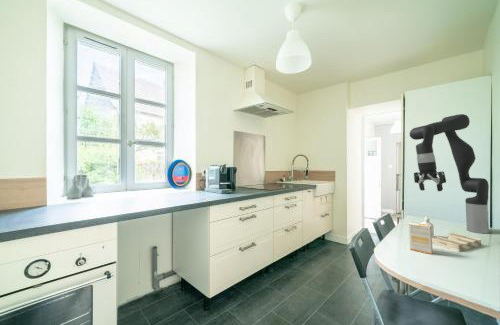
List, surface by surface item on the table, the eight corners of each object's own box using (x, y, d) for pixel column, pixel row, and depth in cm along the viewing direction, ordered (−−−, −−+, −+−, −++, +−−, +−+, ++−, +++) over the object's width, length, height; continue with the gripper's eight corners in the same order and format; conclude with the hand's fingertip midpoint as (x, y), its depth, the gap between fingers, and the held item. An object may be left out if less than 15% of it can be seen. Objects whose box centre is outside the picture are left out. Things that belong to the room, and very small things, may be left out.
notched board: (453, 238, 114) (453, 233, 114) (481, 245, 104) (481, 239, 104) (431, 243, 108) (431, 237, 108) (458, 251, 97) (458, 245, 97)
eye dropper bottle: (422, 234, 122) (421, 214, 122) (434, 236, 117) (433, 216, 118) (420, 236, 119) (419, 215, 119) (433, 238, 114) (432, 217, 115)
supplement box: (432, 251, 98) (431, 224, 98) (431, 254, 95) (430, 226, 95) (411, 246, 104) (410, 221, 104) (409, 249, 101) (408, 223, 101)
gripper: (446, 159, 106) (451, 190, 105) (418, 162, 119) (422, 189, 119) (435, 161, 104) (440, 192, 103) (408, 163, 118) (412, 190, 117)
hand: (430, 190), depth 111 cm, fingers open, 8 cm apart
